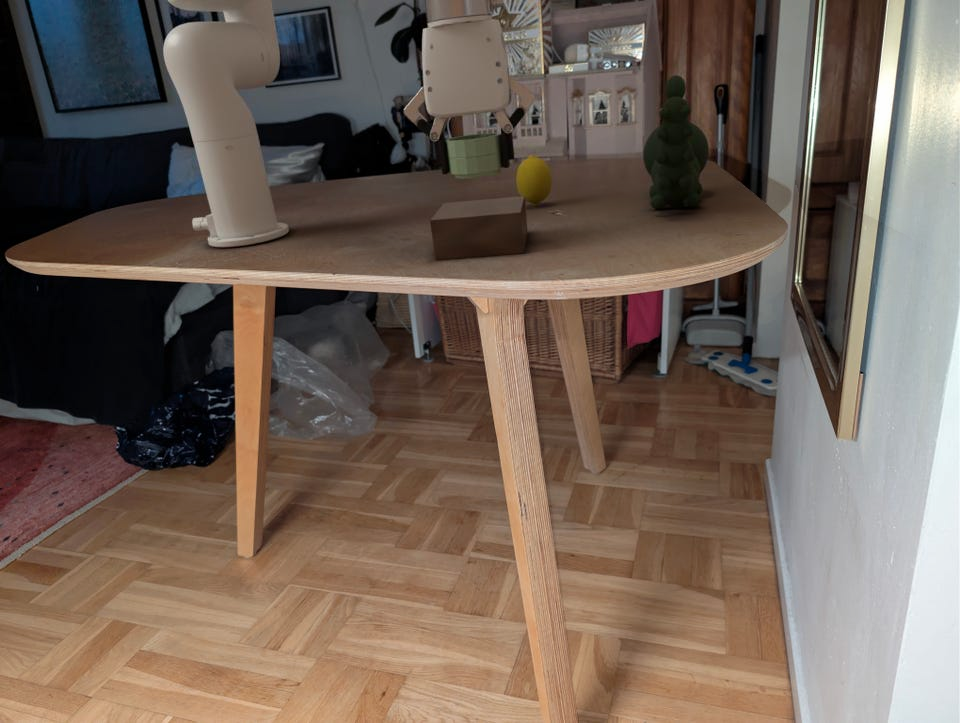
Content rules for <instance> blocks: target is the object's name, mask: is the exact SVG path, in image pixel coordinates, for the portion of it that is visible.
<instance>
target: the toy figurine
mask: <svg viewBox="0 0 960 723" xmlns="http://www.w3.org/2000/svg"><path fill="white" fill-rule="evenodd" d="M686 89H687V86H686V82H685V79H684V78H683V77H682V76H680V75H678V74H677V75H672V76H670V77H669V78H668V80H667V81H666V82H665V86H664V94H665V98H666V99H667V100H665V102H664V103H663V105H662V106H661V109H660V111H659V117H660V118H661V119H662V122H661V123H660V125H659V126H657V127H656V128H655V129H654V130H653V131H652V132H651V133H650V134H649V136H648V137H647V139H646V141H645V143H644V147H643V159H642V160H643V164H644V167H645V169H646V171H647V174H649V176H650V177H651V181H652V185H651V186H650V187H649V191H648V194H649V196H650V202H649V204H650V207H651V208H652V209H654V210H661V209H664V208H667V206H669V207H675V208H676V207H682V206H684V207H686V208H696V207H698V206H700V204H701V202H702V198H701V194H702V192H703V186H702V184H701V182H700V176H701V173H702V172H703V171H704V169H705V167H706V164H708V159H709V154H710V153H709V152H710V148H709V147H710V146H709V140H708V139H707V136H706V135H705V133H704V131H703V130H702V129H701V128H700V127H699V126H698V125H697V124H694V123H693V122H692V121H690V120H689V119H688V118H689V117H690V115H691V113H692V109H691V107H690V105H689V103H688V101H687V100H686V99H685V98H684V97H685V94H686Z"/></svg>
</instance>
